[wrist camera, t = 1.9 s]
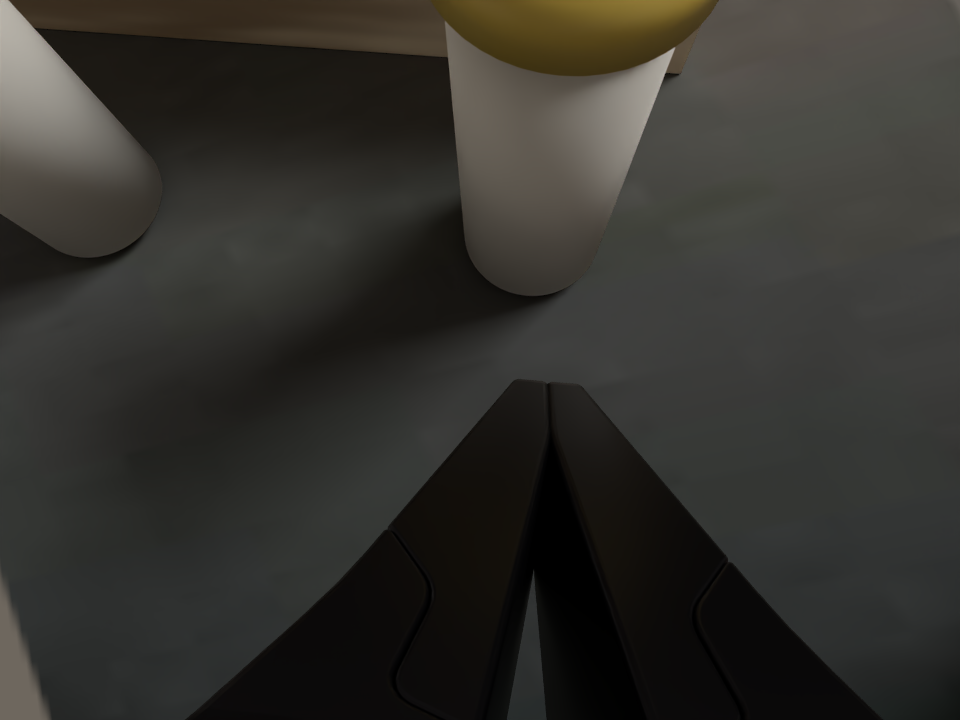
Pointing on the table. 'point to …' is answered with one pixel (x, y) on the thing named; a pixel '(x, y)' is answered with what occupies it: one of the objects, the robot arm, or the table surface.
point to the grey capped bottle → (66, 153)
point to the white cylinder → (551, 123)
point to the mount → (270, 23)
